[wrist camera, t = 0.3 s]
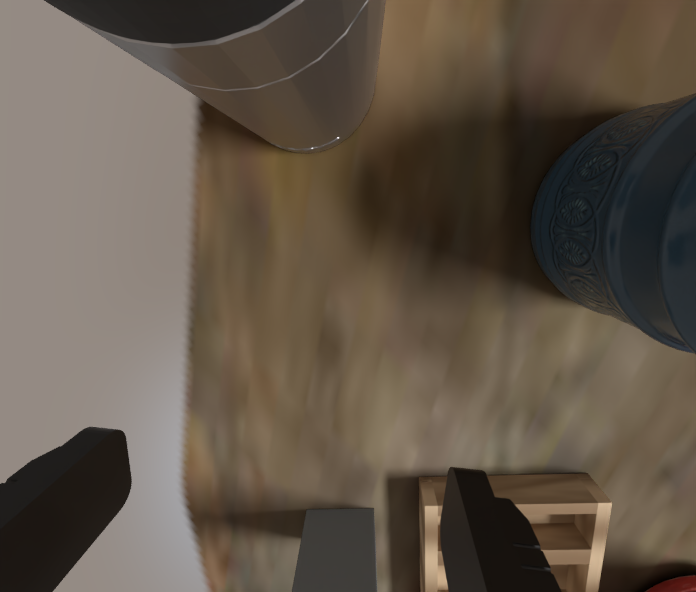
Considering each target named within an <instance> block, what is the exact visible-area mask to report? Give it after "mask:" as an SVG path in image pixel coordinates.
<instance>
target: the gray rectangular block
mask: <svg viewBox="0 0 696 592" xmlns="http://www.w3.org/2000/svg"><path fill="white" fill-rule="evenodd" d="M292 592H377V569H376V543H375V523H374V508H364V509H307V510H306V516H305V521H304V527H303V533H302V538H301V544H300V549H299V555H298V560H297V566H296V571H295V577H294V582H293V588H292Z"/></svg>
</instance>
